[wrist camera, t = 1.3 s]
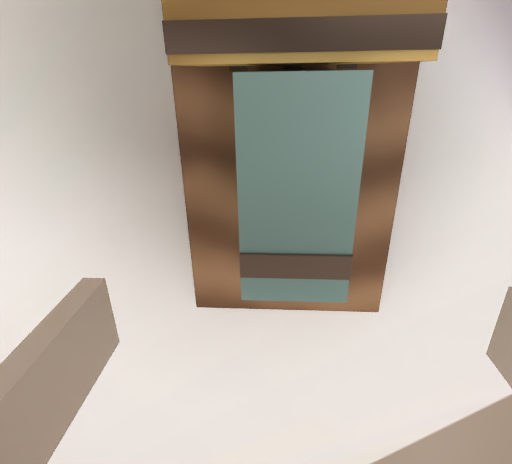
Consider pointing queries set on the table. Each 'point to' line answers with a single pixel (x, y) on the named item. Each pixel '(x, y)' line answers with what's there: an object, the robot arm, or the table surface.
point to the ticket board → (291, 58)
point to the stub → (299, 180)
